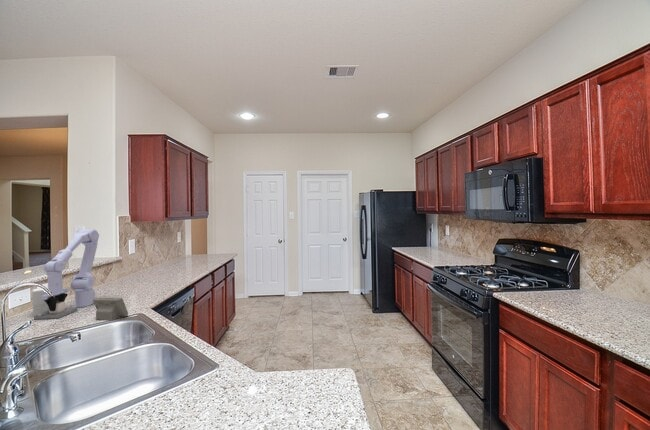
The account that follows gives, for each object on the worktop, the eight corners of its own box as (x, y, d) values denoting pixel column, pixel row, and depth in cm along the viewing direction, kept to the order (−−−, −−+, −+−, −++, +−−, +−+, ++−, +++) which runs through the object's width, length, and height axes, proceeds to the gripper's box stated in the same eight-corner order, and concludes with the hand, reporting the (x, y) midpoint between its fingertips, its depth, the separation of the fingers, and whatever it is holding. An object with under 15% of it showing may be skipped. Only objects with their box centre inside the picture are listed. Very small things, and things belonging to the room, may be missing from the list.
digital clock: (130, 315, 151) (129, 295, 151) (112, 322, 142) (111, 300, 142) (108, 313, 156) (107, 293, 156) (89, 319, 148) (88, 298, 147)
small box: (49, 313, 158) (48, 289, 158) (32, 316, 154) (31, 291, 154) (50, 309, 165) (49, 286, 164) (34, 312, 161) (33, 288, 160)
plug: (55, 312, 157) (55, 300, 157) (64, 311, 157) (64, 299, 157) (49, 314, 153) (49, 302, 153) (58, 314, 153) (58, 302, 153)
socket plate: (54, 311, 161) (54, 307, 161) (77, 310, 162) (77, 306, 162) (34, 319, 149) (33, 314, 149) (59, 318, 150) (58, 313, 150)
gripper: (51, 286, 148) (52, 313, 148) (74, 280, 163) (75, 304, 163) (36, 287, 148) (37, 314, 148) (60, 280, 162) (61, 305, 162)
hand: (56, 309), depth 155 cm, fingers closed on plug, 4 cm apart
